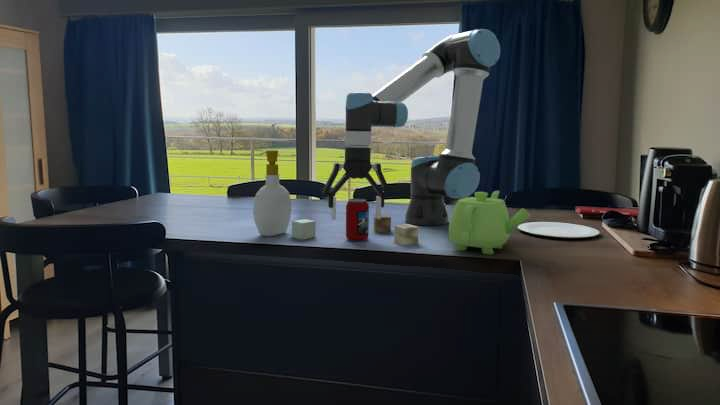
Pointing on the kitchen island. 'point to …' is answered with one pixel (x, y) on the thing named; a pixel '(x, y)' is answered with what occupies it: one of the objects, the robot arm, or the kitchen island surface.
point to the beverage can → (357, 219)
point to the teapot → (483, 222)
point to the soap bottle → (272, 201)
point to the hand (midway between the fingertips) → (356, 218)
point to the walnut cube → (382, 224)
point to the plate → (558, 230)
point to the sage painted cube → (303, 229)
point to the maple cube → (406, 234)
